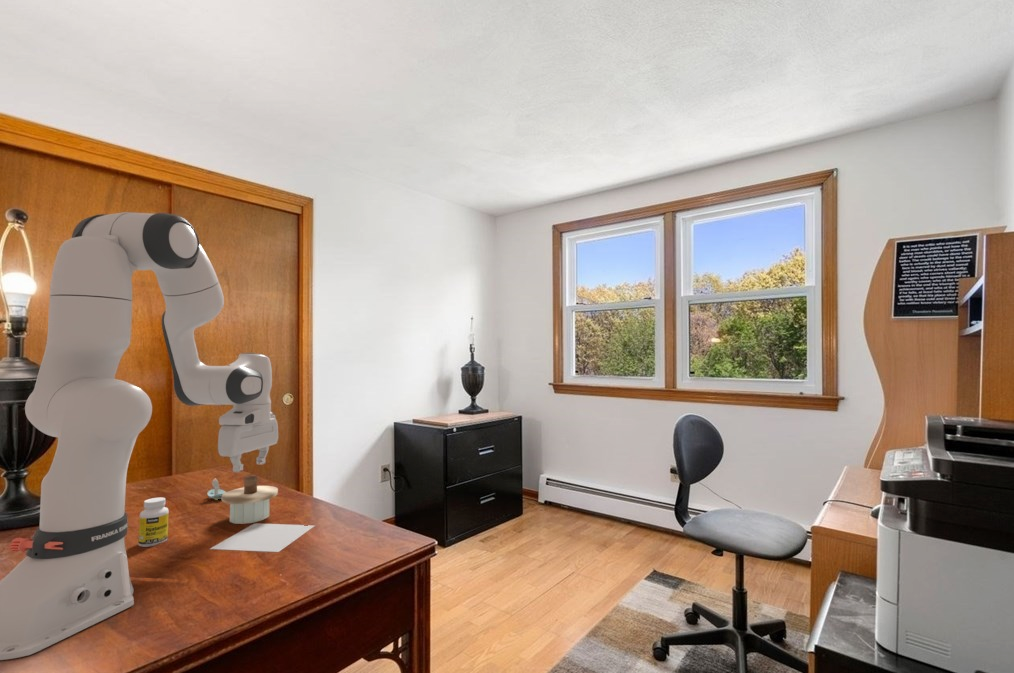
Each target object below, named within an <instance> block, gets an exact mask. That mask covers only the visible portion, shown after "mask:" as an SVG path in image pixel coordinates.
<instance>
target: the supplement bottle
mask: <svg viewBox="0 0 1014 673" xmlns="http://www.w3.org/2000/svg"><path fill="white" fill-rule="evenodd" d="M165 506H166V498H165V497H160V496H159V497H152V498H149V499H145V500H144V501H143V508H144V510H141V512H140V513H139V517H138V518H139V519H138V522H139V523H138V543H137V545H138V546H139V547H141V548H151V547H155V546H157V545H159V544H162V543H164V542H166V541H167V540H168V535H169V516H170V515H169V513H170V511H169V508H168V507H167V506H166V507H165Z"/></svg>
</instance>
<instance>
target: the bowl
mask: <svg viewBox="0 0 1014 673" xmlns="http://www.w3.org/2000/svg"><path fill="white" fill-rule="evenodd" d="M270 499H271V498H270ZM270 499H267V500H264V501H260V502H254V503H246V504H229V523H232V524H238V525H239V524H241V525H243V524H252V523H253V524H254V523H257V522H260V521H264V520H265V519H267V518H269V517H270Z"/></svg>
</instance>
